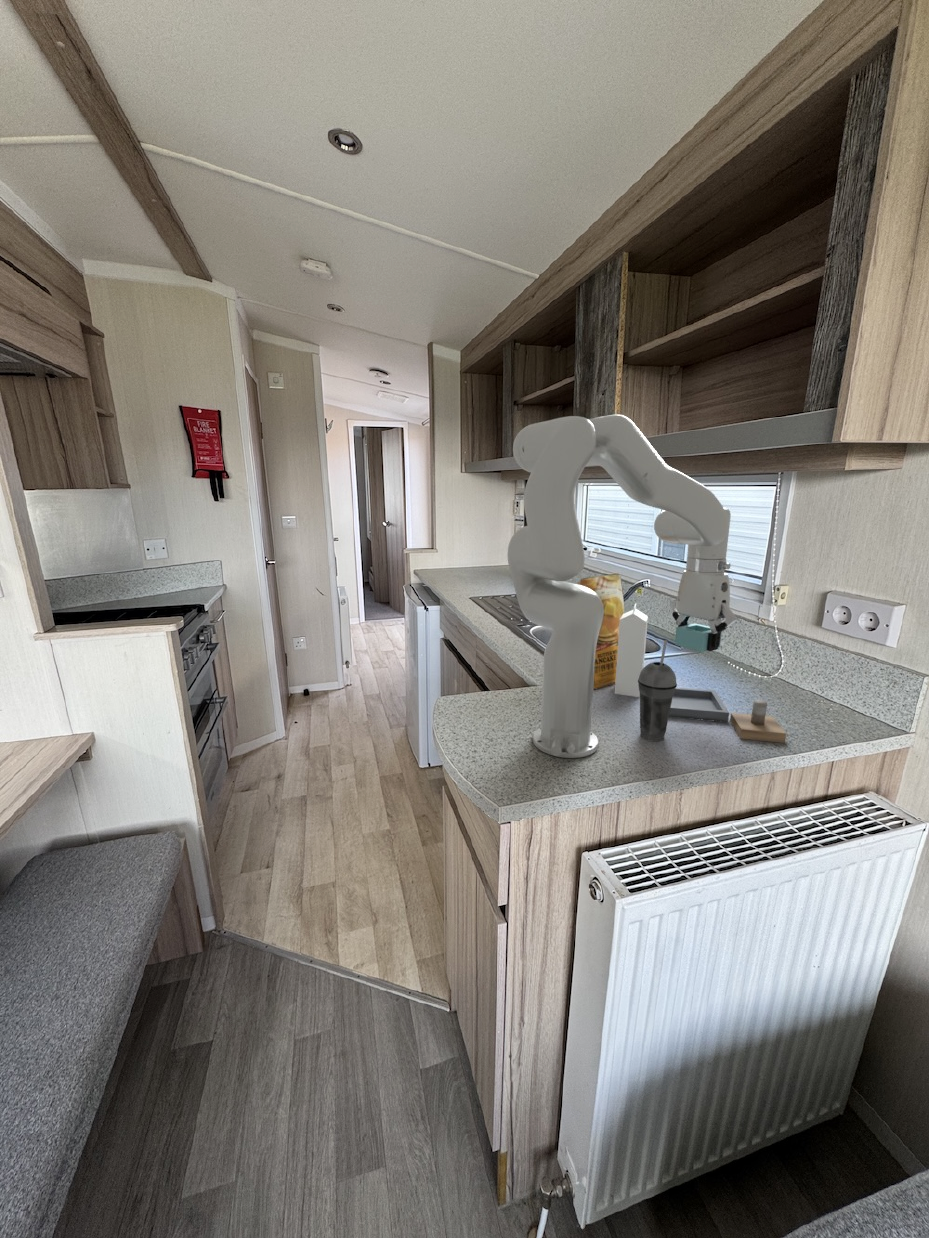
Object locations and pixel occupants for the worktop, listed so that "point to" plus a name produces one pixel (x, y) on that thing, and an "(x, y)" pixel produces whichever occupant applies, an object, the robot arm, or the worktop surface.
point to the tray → (698, 705)
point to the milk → (630, 652)
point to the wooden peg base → (758, 724)
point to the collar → (693, 637)
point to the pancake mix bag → (607, 626)
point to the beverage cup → (656, 698)
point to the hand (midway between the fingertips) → (697, 645)
